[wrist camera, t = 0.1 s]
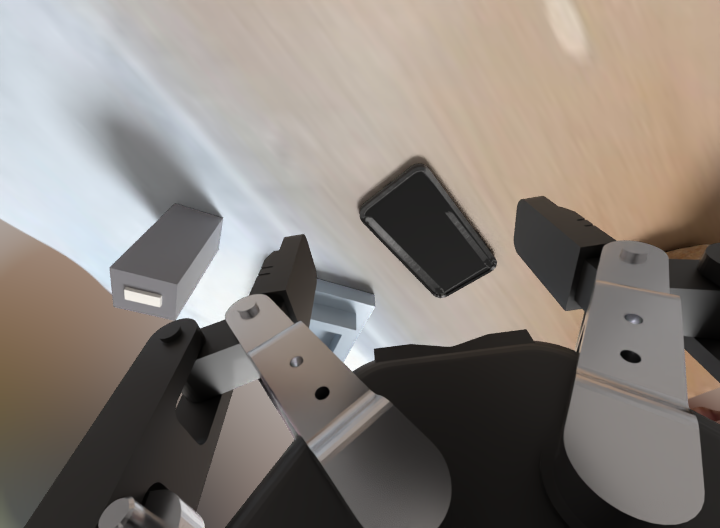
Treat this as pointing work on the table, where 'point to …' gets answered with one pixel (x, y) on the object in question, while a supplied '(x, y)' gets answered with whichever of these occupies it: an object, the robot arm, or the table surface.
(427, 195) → the phone
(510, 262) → the table surface
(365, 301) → the outlet box
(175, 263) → the block
